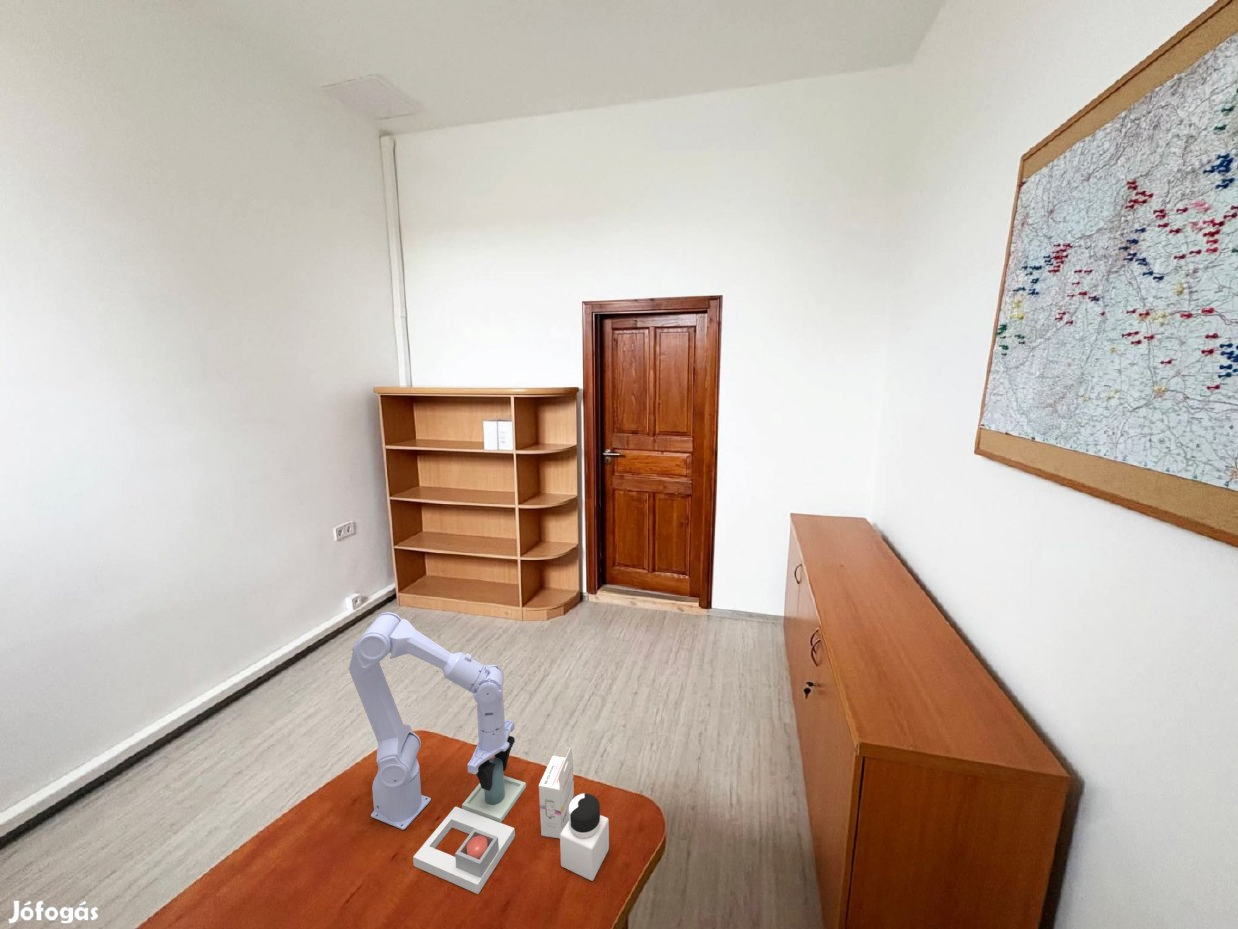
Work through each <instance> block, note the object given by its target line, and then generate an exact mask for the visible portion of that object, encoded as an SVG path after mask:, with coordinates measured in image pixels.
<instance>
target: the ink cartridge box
mask: <svg viewBox="0 0 1238 929" xmlns="http://www.w3.org/2000/svg"><path fill="white" fill-rule="evenodd" d="M568 749H569V750H568V751H567V754H566V757H564V756H557V755H552V756H551V758H550V761H549V763H548V765H547V766H546V769H545V771H544V772H543V775H542V777H541V779H540V782H539V784H538V793H539V794H538V796H539V797H538V798H539V814H540V815H539V816H540V818H539V819H540V832H541V833H540V835H541V836H543V837H547V838H554V839H559V840H560V833H561V832H562V830H563V829H564V827H565V826H566V824H567V822H568V821H569V804H570V802H571V801H572V799H573V798H574V797H575V788H574V787H575V785H574V782H575V780H574V758H573V750H572V747H571V746H570V747H569V748H568Z"/></svg>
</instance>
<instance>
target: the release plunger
mask: <svg viewBox="0 0 1238 929" xmlns="http://www.w3.org/2000/svg"><path fill="white" fill-rule="evenodd" d="M487 848H488V845H487V839H486V838H485V837H484V836H476V837H473V838H472V839H471V840H470V841H469V842H468V844H467V855H469V856H471V857H474V858H476V859H480V858H481V857H482V855H483V854H484V852H485V851H486V849H487Z"/></svg>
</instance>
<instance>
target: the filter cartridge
mask: <svg viewBox="0 0 1238 929" xmlns="http://www.w3.org/2000/svg"><path fill="white" fill-rule="evenodd" d="M488 760H489V762H491V763H494V764H496V765H495V767H494V770H493V775H492V787H491V789H490V790H489V791H488V790H485V789H484V794H485V801H486V803H487V804H489V805H496V804H498V803H500V802H501V801H502V800H503V799H504V797H505V788H504V776H505V775H504V771H503V763H502V760H501V759H499V758H495V757H491V758H490V759H488Z"/></svg>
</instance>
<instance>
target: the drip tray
mask: <svg viewBox="0 0 1238 929" xmlns="http://www.w3.org/2000/svg"><path fill="white" fill-rule="evenodd" d="M504 788H505V797H504V799H503V800H502V801H501V802H500V803H498V804H496V805H489V804H487V803H486V801H485V794H484V789H482V787H481V785H480V782H479V783H478V785H477V786H476V787H475V788H474V789H473V791H471V793H470V794H469V796H468V797H467V798H466V799H465V800H464V802H463V803H462V804H461V809H464V810H467V811H469V812H472V813H475V814H477V815H480V816H483V817H486V818H488V819H491V820H494V821H496V822H499V823H502V824H503V821H504V820H505V819H506V817H507V816H508V814H509V812H510V811H511V809H513V807H514V805H516V803H517V801H518V799H519V798H520V797H521V795H522V794H523V792H524V791H525V789H526V788H527V783H526V782H524V781H522V780H519V779H515V778H513V777H510V776H506V775H504Z"/></svg>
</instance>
